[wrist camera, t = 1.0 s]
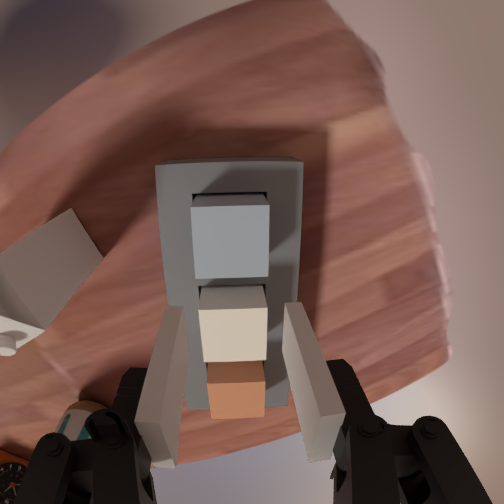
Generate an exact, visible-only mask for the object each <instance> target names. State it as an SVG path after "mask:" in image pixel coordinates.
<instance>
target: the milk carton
mask: <svg viewBox="0 0 504 504" xmlns="http://www.w3.org/2000/svg"><path fill="white" fill-rule="evenodd" d="M102 260H103V257H102V255H101V254H100V252H99V251H98V249H97V248H96V246H95V245H94V243H93V241H92V240H91V238H90V237H89V235H88V234H87V232H86V231H85V229H84V227H83V226H82V224H81V223H80V221H79V219H78V218H77V216H76V215H75V213H74V211H73V210H72V208H70V209H68V210H67V211H65V212H63V213H62V214H60V215H58V216H57V217H55V218H53V219H52V220H50V221H48V222H47V223H45V224H43V225H42V226H40V227H39V228H37V229H35V230H34V231H32V232H31V233H29V234H28V235H26V236H25V237H23V238H21V239H20V240H18V241H17V242H15V243H14V244H12V245H11V246H9V247H8V248H7V249H5V250H4V251H2V252H1V253H0V355H2V356H11V355H14V354H15V353H16V351H17V350H16V349H17V348H19V347H21V346H22V345H24V344H25V343H27V342H29V341H30V340H32V339H33V338H35V337H37V336H38V335H40V334H41V333H43V332H44V331H46V329H47V328H48V327H49V326H50V324H51V323H52V322H53V320H54V319H55V318H56V316H57V315H58V314H59V313H60V311H61V310H62V309H63V307H64V306H65V305H66V304H67V302H68V301H69V300H70V298H71V297H72V296H73V295H74V293H75V292H76V291H77V290H78V288H79V287H80V286H81V285H82V284H83V282H84V281H85V280H86V279H87V278H88V276H89V275H90V274H91V273H92V272H93V270H94V269H95V268H96V267H97V266H98V265H99V263H100V262H101V261H102Z"/></svg>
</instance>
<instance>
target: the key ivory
mask: <svg viewBox="0 0 504 504" xmlns="http://www.w3.org/2000/svg"><path fill="white" fill-rule="evenodd" d="M198 312H199V322H200V332H201V341H202V350H203V358H204V362H234V361H257V360H266V349H267V313H268V307H267V303H266V298H265V294H264V290H263V285H262V284H246V285H213V286H202V287H201V294H200V301H199V308H198Z"/></svg>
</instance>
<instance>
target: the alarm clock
mask: <svg viewBox="0 0 504 504" xmlns="http://www.w3.org/2000/svg"><path fill="white" fill-rule="evenodd" d="M28 464H29V461H27V460H25V459H22V458H20V457H17V456H15V455H12V454H10V453H8V452H5V451H3V450H1V449H0V504H13V503H14V500H15V497H16V494H17V492H18V489H19V486H20V484H21V481H22V479H23V476H24V474H25V471H26V469H27V466H28Z"/></svg>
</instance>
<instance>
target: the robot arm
mask: <svg viewBox="0 0 504 504" xmlns="http://www.w3.org/2000/svg"><path fill="white" fill-rule="evenodd" d="M282 353H283V357H284V361H285V365H286V369H287V373H288V377H289V381H290V385H291V390H292V394H293V398H294V402H295V406H296V410H297V414H298V418H299V423H300V427H301V431H302V435H303V439H304V443H305V447H306V451H307V456H308V460H309V462H317V461H322V460H329V459H331V456H332V453H334V456H335V459H336V463H335V466H334V468H333V471H332V473H331V476H330V479H333V478H334V502H333V504H400V503H401V504H492V502H491V500H490V498H489V496H488V495H487V493H486V491H485V489H484V487H483V486H482V484H481V482H480V480H479V479H478V477H477V475H476V473H475V472H474V470H473V468H472V467H471V465H470V463H469V462H468V460H467V458H466V456H465V455H464V453H463V452H462V450H461V448H460V447H459V445H458V443H457V442H456V440H455V438H454V437H453V435H452V433H451V432H450V430H449V429H448V427H447V426H446V424H445V423H444V422H443V421H442V420H441V419H439V418H437V417H433V416H423V417H421V418H419V419H417V420H416V421H415V423H414V424H413V426H403V425H401V426H400V425H390V424H387V422H386V421H385V420H384V419H383V418H381V417H379V416H377V415H375V414H374V412H373V410H372V408H371V406H370V404H369V402H368V399H367V397H366V395H365V393H364V391H363V389H362V387H361V386H360V383H359V380H358V378H356V374H355V372H354V370H353V368H352V366H351V365H349V364H348V363H347V362H346V361H345V360H344V359H338V360H329V361H325V358H324V356H323V353H322V351H321V348H320V346H319V344H318V341H317V339H316V336H315V334H314V331H313V329H312V326H311V324H310V322H309V319H308V317H307V314H306V312H305V309H304V307H303V305H302V302H291V303H285V308H284V325H283V342H282ZM188 358H189V350H188V343H187V336H186V328H185V321H184V313H183V306H166V308H165V311H164V315H163V318H162V321H161V325H160V328H159V331H158V335H157V338H156V342H155V345H154V348H153V352H152V356H151V359H150V363H149V366H148V368H132V367H131V368H130V369H129V370H128V371H127V372H126V373H125V374H124V375H123V376H122V379H121V382H120V385H119V388H118V391H117V396H116V397H115V400H114V403H113V406H112V409H106V408H105V409H100V410H97V411H95V412H93V413H91V414H90V415H89V416H88V417H87V419H86V421H85V424H84V426H85V428H86V430H87V431H88V433H89V435H90V437H91V438H89V439H84V440H75V441H70V440H69V439H68V438H67V437H66V436H65V435H63V434H61V433H55V432H52V433H49V434H46V435H44V436H43V437H42V438H41V439H40V440H39V441H38V443H37V445H36V447H35V450H34V452H33V454H32V457H31V459H30V461H29V464H28V466H27V469H26V471H25V474H24V476H23V479H22V481H21V484H20V486H19V489H18V492H17V494H16V497H15V500H14V503H13V504H157V501H156V496H155V489H154V483H153V477H152V475H151V472H150V466H151V461H152V463H153V465H154V467H159V468H174V469H176V463H177V453H178V443H179V433H180V423H181V414H182V406H183V397H184V389H185V381H186V373H187V365H188Z"/></svg>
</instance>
